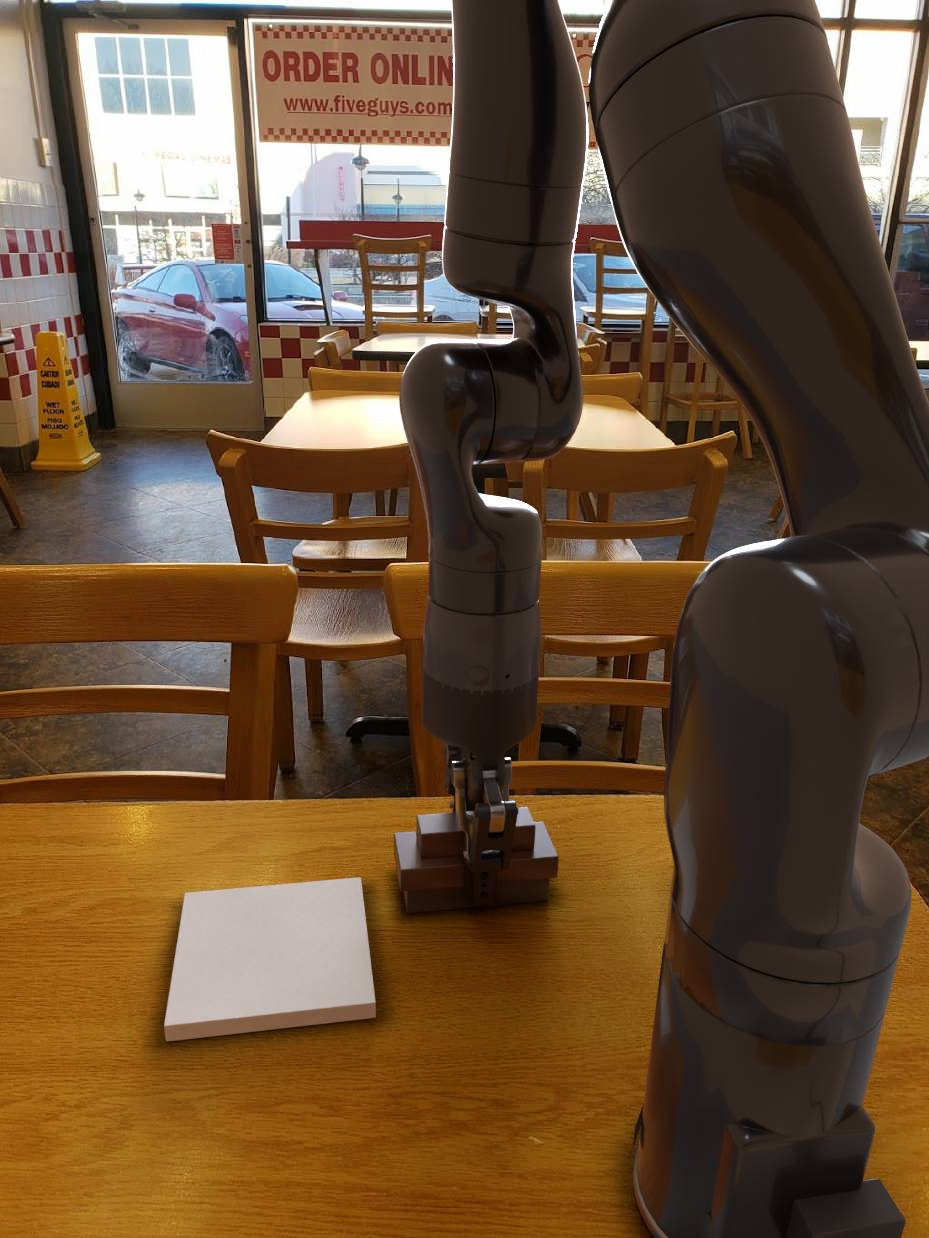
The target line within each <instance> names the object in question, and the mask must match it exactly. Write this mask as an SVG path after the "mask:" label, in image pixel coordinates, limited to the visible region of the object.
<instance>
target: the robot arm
mask: <svg viewBox="0 0 929 1238" xmlns="http://www.w3.org/2000/svg"><path fill="white" fill-rule="evenodd" d="M450 4H451V24H452V25H451V27H452V55H453V56H452V57H453V58H452V63H453V67H452V69H453V70H452V71H453V79H452V81H453V82H452V83H453V85H452V87H453V88H452V90H453V93H452V113H451V131H450V133H451V134H450V145H449V146H450V147H449V158H448V169H447V170H448V172H447V181H446V195H445V209H444V221H443V223H444V227H443V236H442V249H441V260H442V261H441V262H442V272H443V275H444V278H445V280H446V282H447V283H448V284H449V286H450V287H452V288H453V289H454V290H455V291H457V292H458V293H461V294H463V295H464V296H468V297H471V298H474V299H477V300H480V301H484V302H488V303H493V304H496V305H501V306H504V307H507V308H508V311H509V313H510V316H511V318H512V324H513V329H512V330H513V332H512V338H511V339H471V340H470V339H449V340H448V339H444V340H437V341H431V342H428V343H426V344H424V345H423V346H421V347H420V348H419V349H418V350H416V351H415V353H414V354H413V355H412V356H411V357H410V359H409V361H408V362H407V364H406V367H405V368H404V370H403V374H402V376H401V381H400V385H399V391H398V393H399V395H398V403H399V414H400V418H401V422H402V427H403V431H404V434H405V437H406V441H407V445H408V447H409V448H408V449H409V451H410V455H411V458H412V461H413V462H412V463H413V464H414V468H415V472H416V476H417V480H418V484H419V489H420V493H421V499H422V505H423V509H424V514H425V519H426V528H427V537H428V550H427V551H428V567H427V568H428V571H427V573H428V574H427V575H428V578H427V579H428V580H427V603H426V611H425V616H424V624H423V644H422V646H423V648H422V649H423V650H422V723H423V726H424V728H425V730H426V731H427V732H428V733H429V735H431V736H432V737H433V738H434V739H435V740H437V741H439V742H441V743H443V744H444V752H443V753H444V758H445V778H444V779H445V780H444V787H445V789H446V792H447V794H448V795H449V796H450V797H449V801H448V809H449V810H450V813H454V812H456V822H457V824H458V826H459V827H460V829H461V830H462V831H464V851H463V858H464V859H465V874H464V899H465V903H466V905H467V906H469V907H472V908H481V907H480V906H483V907H491V906H490V905H493V904H495V903H496V901H497V892H498V872H499V870H507V869H509V866H510V862H511V853H512V847H513V841H514V835H515V828H516V822H517V815H518V808H519V807H518V805H517V802H516V801H515V800H510V786H511V785H512V784H513V764H512V759H511V757H505V754H506V752H508V750H510V749H511V748H513V747H514V746H516V745H518V744H520V743H522V742H524V741H525V740H526V739H528V738H529V737H530V736H531V735H532V734H533V732H534V730H535V728H536V725H537V713H538V712H537V711H538V698H539V697H538V696H539V695H538V694H539V678H540V662H541V661H540V660H541V658H540V657H541V649H542V647H541V646H542V645H541V644H542V621H541V610H540V597H541V593H540V592H541V579H542V561H543V543H544V528H543V527H544V526H543V522H542V518H541V515H540V513H538V511H537V510H536V509H535V508H534V507H533V506H531V505H529V503H525V502H523V501H521V500H518V499H513V498H508V497H504V496H498V495H491V494H484V493H479V492H478V490H477V487H476V484H475V482H474V477H473V466H476V465H477V466H478V465H493V464H495V465H496V464H509V463H510V464H511V463H527V462H528V463H529V462H539V461H543V460H547V459H551V458H553V457H555V456H557V455H558V454H559V453H560V452H562V451H563V450H564V449H565V448H566V446H567V445H568V444H569V443H570V441H572V438H573V437H574V434H575V433H576V431H577V429H578V426H579V424H580V422H581V418H582V413H583V406H584V387H583V386H584V385H583V376H582V368H581V367H582V366H581V361H580V360H581V359H580V352H579V346H578V345H579V343H578V337H577V324H576V309H575V297H574V283H573V282H574V281H573V258H574V251H575V245H576V241H575V240H576V238H577V232H578V224H579V218H580V210H581V203H582V197H583V189H584V187H583V185H584V181H585V174H586V168H587V157H588V145H589V122H588V111H587V109H588V108H587V102H586V96H585V89H584V85H583V81H582V80H583V79H582V76H581V75H582V74H581V71H580V68H579V65H578V64H579V63H578V61H577V57H576V54H575V50H574V47H573V44H572V43H573V42H572V40H571V36H570V33H569V31H568V30H569V29H568V27H567V24H566V21H565V17H564V15H563V11H562V7H561V6H560V2H559V0H451V3H450ZM602 15H603V16H602V18H601V21H600V23H599V28H598V30H597V34H596V37H595V42H594V44H593V45H594V46H593V50H592V56H591V62H590V69H589V76H588V77H589V78H588V103H589V104H588V105H589V110H590V114H591V120H592V126H593V127H592V128H593V130H594V137H595V140H596V144H597V149H598V154H599V158H600V161H601V166H602V169H603V173H604V178H605V182H606V187H607V190H608V194H609V198H610V203H611V206H612V210H613V215H614V218H615V222H616V226H617V229H618V231H619V235H620V238H621V241H622V244H623V246H624V249H625V251H626V254H627V256H628V258H629V259H630V262H631V263H632V265H633V267H634V269H635V271H636V273H637V274H638V275H639V277H640V278H641V281H643V283H644V284H645V286H646V288H647V289H648V290H649V292H650V293H651V295H652V297H653V298H654V299H655V300H656V302H657V304H658V305H659V306H660V307H661V309H662V310H663V311H664V312H665V314H666V315H667V316H668V317H669V319H670V320H671V321H672V323H673V324H674V326H676V328H677V329H678V330H679V332H681V334H682V335H683V336H684V338H686V340H687V341H688V342H689V343H690V344H691V346H692V347H693V348H694V349H695V350H696V351H697V353H698V354H699V355H700V357H702V358H703V359H704V361H705V362H706V363H707V364H708V366H709V367H710V368H711V370H713V371H714V373H716V375H717V376H718V377H719V378H720V380H721V381H722V382H723V383H724V384H725V386H726V388H727V389H728V390H729V392H730V393H731V394H732V395H733V396H734V398H735V399H736V400H737V402H738V403H739V404H740V406H741V408H742V409H743V410H744V412H745V414H746V415H747V417H748V418H749V420H750V422H751V423H752V425H753V427H754V429H755V431H756V433H757V435H758V437H759V438H760V440H761V443H762V445H763V446H764V449H765V450H764V451H765V453H766V454H767V457H768V459H769V462H770V465H771V467H772V470H773V473H774V476H775V479H776V484H777V486H778V489H779V492H780V496H781V500H782V503H783V507H784V511H785V515H786V519H787V522H788V526H789V531H790V532H789V533H790V535H791V537H785V538H778V539H772V540H767V541H766V540H765V541H761V542H756V543H752V544H747V545H743V546H739V547H737V548H733V549H731V550H729V551H726V552H724V553H722V554H720V555H719V556H717V557H716V558H715V559H714V560H712V561H711V562H709V563H708V564H707V565H706V566H705V567H704V568H703V570H702V571H701V572H700V573H699V574H698V576H697V577H696V579H695V580H694V582H693V583H692V585H691V587H690V589H689V591H688V592H687V594H686V595H687V596H686V598H685V600H684V602H683V605H682V608H681V610H680V613H679V618H678V622H677V626H676V629H675V634H674V641H673V646H672V647H673V648H672V653H671V664H670V665H671V666H670V675H669V677H670V678H669V693H668V713H667V714H668V715H667V732H666V733H667V734H666V750H665V751H666V752H665V766H664V767H665V769H664V782H663V813H664V823H665V829H666V834H667V839H668V842H669V848H670V851H671V857H672V865H673V869H672V876H671V886H670V892H669V893H670V894H669V901H668V908H667V916H666V924H665V925H666V926H665V932H664V940H663V946H662V955H661V961H660V962H661V963H660V971H659V978H658V986H657V992H656V1001H655V1010H654V1018H653V1024H652V1025H653V1027H652V1032H651V1042H650V1049H649V1057H648V1066H647V1072H646V1073H647V1074H646V1081H645V1088H644V1089H645V1090H644V1098H643V1103H642V1106H641V1110H640V1111H639V1115H638V1117H637V1119H636V1123H635V1126H634V1132H633V1141H632V1149H631V1150H632V1152H633V1150H634V1147H635V1145H636V1142H637V1139H638V1136H639V1139H638V1140H639V1142H638V1144H637V1147H636V1150H635V1154H634V1164H633V1173H632V1183H633V1192H634V1197H635V1201H636V1204H637V1207H638V1211H639V1213H640V1215H641V1217H642V1220H643V1222H644V1224H645V1225H646V1227H647V1229H648V1231H649V1232H650V1234H651V1235H652V1236H653V1238H902V1236H903V1233H904V1229H905V1226H906V1222H907V1221H906V1218H905V1217H904V1215H903V1214H902V1212H901V1209H899V1207H898V1206H897V1204H896V1202H895V1201H894V1199H893V1198H892V1196H891V1194H890V1193H889V1192H888V1189H887V1188H886V1187H885V1185H884V1183H883V1182H882V1180H881V1179H880V1177H879V1178H872V1179H866V1180H865V1179H864V1178H865V1173H866V1169H867V1166H868V1161H869V1157H870V1153H871V1149H872V1145H873V1141H874V1137H875V1134H876V1125H875V1123H874V1121H873V1120H872V1118H871V1117H870V1115H869V1114H868V1112H867V1111H866V1109H865V1107H864V1103H865V1099H866V1094H867V1090H868V1086H869V1083H870V1077H871V1073H872V1070H873V1065H874V1061H875V1057H876V1053H877V1049H878V1045H879V1040H880V1036H881V1033H882V1032H881V1031H882V1027H883V1023H884V1019H885V1015H886V1010H887V1006H888V1003H889V999H890V995H891V991H892V987H893V982H894V978H895V975H896V970H897V966H898V962H899V957H900V954H901V949H902V946H903V943H904V939H905V935H906V931H907V926H908V921H909V918H910V913H911V908H912V898H913V897H912V896H913V895H912V893H913V891H912V884H911V880H910V877H909V873H908V870H907V868H906V866H905V864H904V863H903V860H902V859H901V858H900V856H899V855H898V854H897V852H896V850H894V848H892V847H891V845H889V843H888V842H887V841H886V840H885V839H884V838H882V837H881V836H880V835H878V834H877V833H876V832H875V831H873V830H872V829H870V828H868V827H867V826H866V825H864V824H862V823H860V820H861V819H860V818H861V812H862V807H863V801H864V796H865V795H864V794H865V790H866V786H867V784H868V779H869V778H871V777H875V776H878V775H880V774H883V773H886V772H889V771H892V770H895V769H898V768H901V767H904V766H907V765H910V764H914V763H916V762H919V761H923V760H926V759H928V758H929V399H928V395H927V394H926V391H925V388H924V385H923V382H922V379H921V375H920V373H919V370H918V368H917V365H916V364H917V363H916V361H915V358H914V355H913V351H912V348H911V345H910V341H909V338H908V334H907V331H906V327H905V324H904V319H903V316H902V312H901V309H900V306H899V302H898V299H897V295H896V292H895V288H894V284H893V280H892V278H891V275H890V271H889V268H888V264H887V261H886V257H885V254H884V250H883V247H882V245H881V241H880V238H879V235H878V231H877V227H876V224H875V221H874V217H873V214H872V211H871V207H870V203H869V200H868V195H867V192H866V189H865V185H864V181H863V176H862V173H861V168H860V163H859V160H858V159H859V158H858V155H857V150H856V144H855V141H854V136H853V132H852V128H851V123H850V118H849V114H848V111H847V108H846V104H845V99H844V97H843V93H842V89H841V84H840V81H839V77H838V74H837V70H836V67H835V63H834V60H833V56H832V52H831V48H830V45H829V42H828V37H827V34H826V30H825V27H824V24H823V20H822V17H821V15H820V11H819V8H818V5H817V3H816V0H608V1H607V3H606V6H605V8H604V12H603V14H602ZM467 811H473V814H472V815H469V814H466V812H467ZM493 906H494V905H493ZM639 1133H640V1134H639Z"/></svg>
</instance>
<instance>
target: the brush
mask: <svg viewBox="0 0 929 1238" xmlns="http://www.w3.org/2000/svg"><path fill="white" fill-rule="evenodd" d="M466 814H469V815H472V814H473V811H467V812H466ZM415 819H416V820H415V821H416V822H415V823H416V824H415V827H416V828H415V830H416V831H405V832H402V831H401V832H394V833H393V857H394V864H395V869H396V875H397V876H396V877H397V882H398V887H399V892H401V893H402V892H403V893H402V894H403V898H404V904H405V909H406V913H407V914H419V913H426V912H427V913H429V912H439V911H440V912H441V911H450V910H459V909H469V908H470V909H471V908H473V907H469V906H467V905H466V903H465V899H464V874H465V859H464V858H463V851H464V831H462V830H461V829H460V827H459V826H458V824H457V822H456V812H454V813H451V812H443V813H430V814H418V815H416V818H415ZM559 859H560V856H559V854H558V851H557V850H556V847H555V845H554V842H553V841H552V838H551V837H550V834H549V832H548V829H547V827H546V824H545V823H544V821H534V819H533V816H532V814H531V811H530V809H529V807H528V806H521V807H518V815H517V822H516V828H515V835H514V841H513V847H512V853H511V862H510V866H509V869H507V870H499V872H498V892H497V901H496V903H495V904H493V905H490V906H489V907H491V906H493V907H494V906H501V905H502V906H503V905H514V904H525V903H534V902H545V901H549V895H550V894H549V893H550V892H549V891H550V879H557V878H558V873H559ZM482 907H484V906H480V907H479V908H482Z"/></svg>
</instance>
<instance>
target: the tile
mask: <svg viewBox="0 0 929 1238" xmlns="http://www.w3.org/2000/svg"><path fill="white" fill-rule="evenodd" d="M181 908H182V909H181V915H180V921H179V927H178V935H177V941H176V947H175V952H174V960H173V966H172V972H171V979H170V984H169V991H168V997H167V1004H166V1011H165V1016H164V1023H163V1029H164V1037H165V1042H175V1041H185V1040H193V1039H201V1038H212V1037H220V1036H228V1035H237V1034H245V1033H254V1032H255V1033H256V1032H264V1031H272V1030H280V1029H282V1030H283V1029H291V1028H297V1027H298V1028H299V1027H308V1026H314V1025H315V1026H316V1025H325V1024H334V1023H341V1022H342V1023H343V1022H351V1021H352V1022H353V1021H359V1020H360V1021H361V1020H367V1019H376V1017H377V1001H376V994H375V993H376V992H375V983H374V975H373V968H372V960H371V952H370V951H371V950H370V944H369V943H370V941H369V934H368V924H367V917H366V909H365V901H364V891H363V884H362V877H349V878H337V879H327V880H326V879H325V880H315V881H304V882H302V881H301V882H293V883H281V884H270V885H269V884H267V885H259V886H247V887H235V888H226V889H225V888H224V889H213V890H202V891H193V892H192V891H190V892H189V891H188V892H184V895H183V902H182V907H181Z"/></svg>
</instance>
